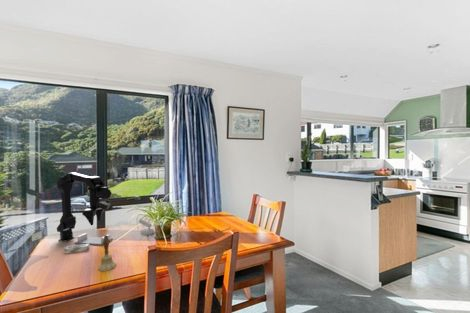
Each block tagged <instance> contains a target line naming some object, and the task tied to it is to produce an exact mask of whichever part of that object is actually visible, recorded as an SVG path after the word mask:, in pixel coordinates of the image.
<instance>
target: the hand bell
mask: <svg viewBox="0 0 470 313" xmlns="http://www.w3.org/2000/svg"><path fill="white" fill-rule="evenodd" d="M109 245H110V242H109V239H108V237H107V234H105V235H104V240H103V245H102V246H103V247H104V255H103V256H102V257H101V261H100V264H99V266H98V267H97V270H98V271H101V272H105V271H111V270H113V269H115V268H116V267H117V264H116V262H114V261H113V258H112V255H111V254H109Z"/></svg>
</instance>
